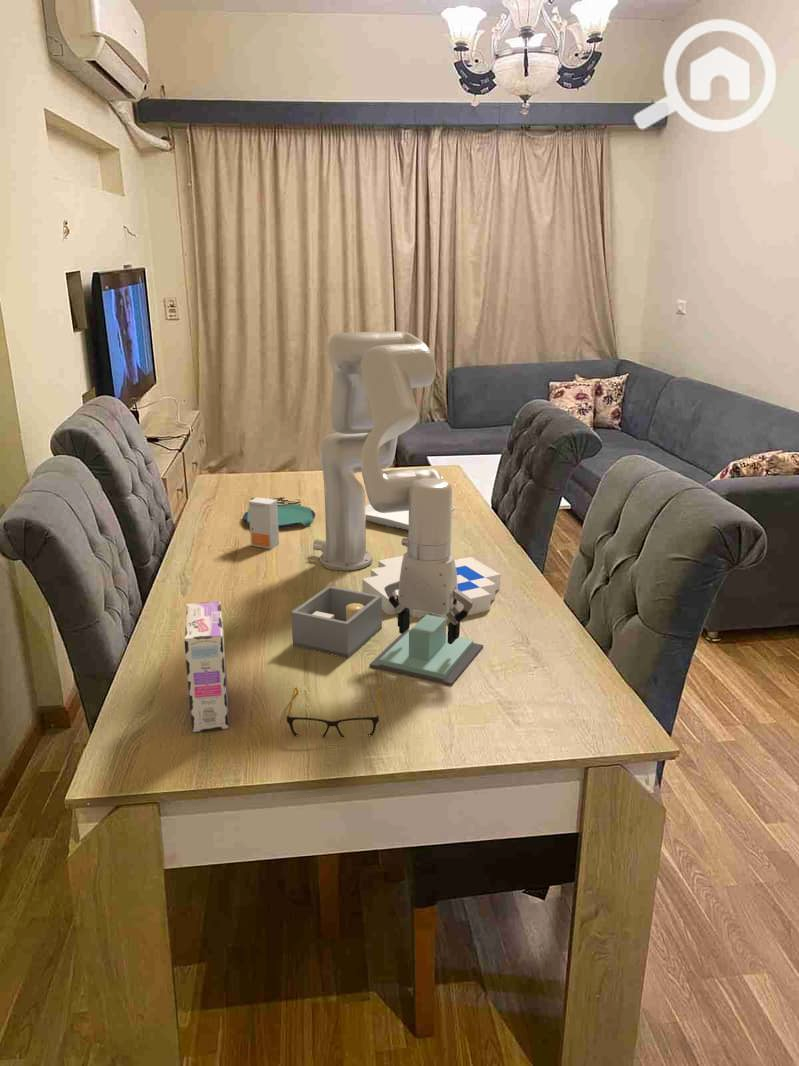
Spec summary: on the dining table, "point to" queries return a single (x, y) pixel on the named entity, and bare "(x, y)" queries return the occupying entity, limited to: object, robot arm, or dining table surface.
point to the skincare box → (264, 522)
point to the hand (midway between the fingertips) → (428, 635)
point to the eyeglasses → (330, 723)
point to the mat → (448, 680)
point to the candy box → (206, 666)
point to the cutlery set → (290, 514)
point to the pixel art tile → (470, 580)
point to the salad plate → (389, 517)
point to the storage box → (337, 621)
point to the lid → (427, 649)
